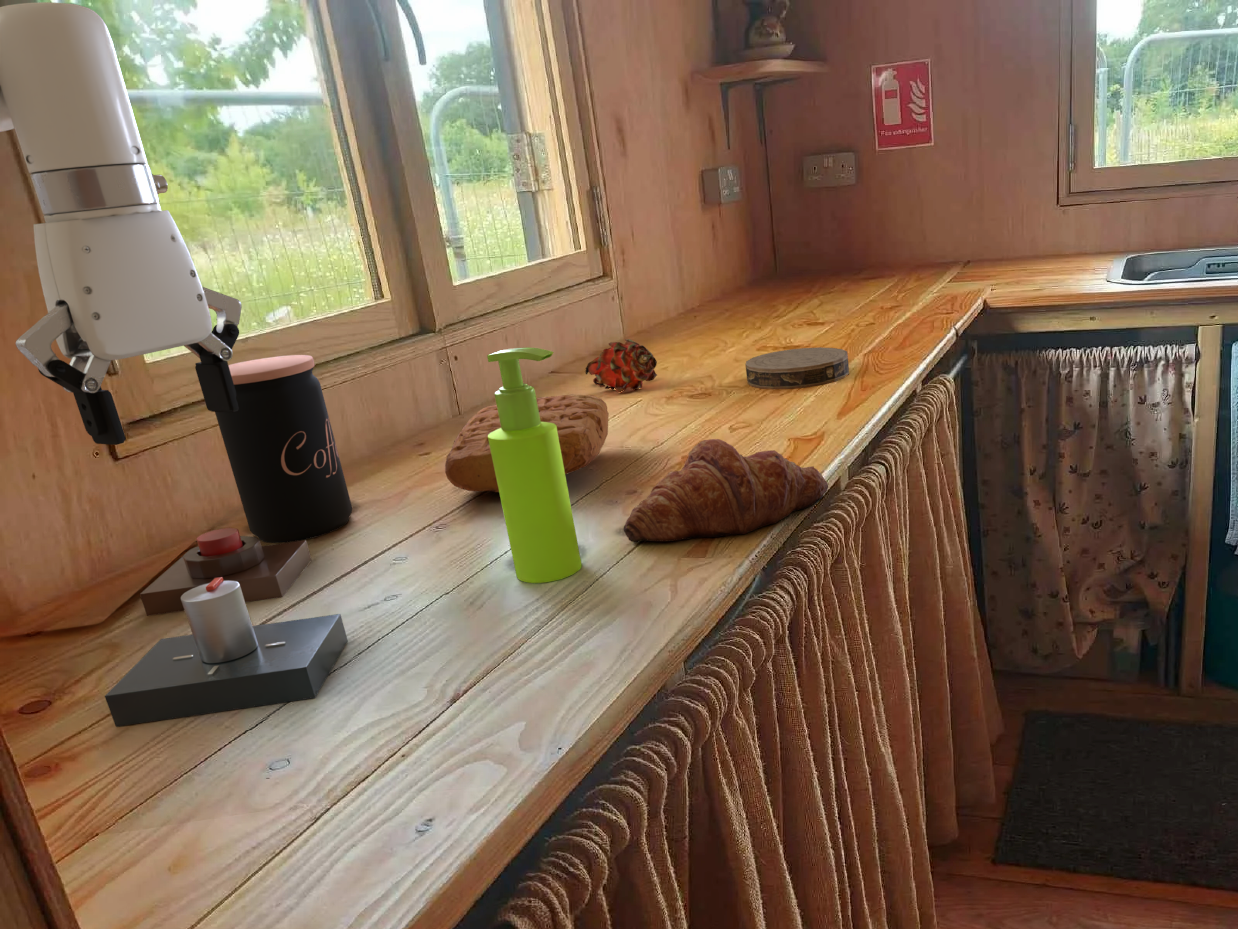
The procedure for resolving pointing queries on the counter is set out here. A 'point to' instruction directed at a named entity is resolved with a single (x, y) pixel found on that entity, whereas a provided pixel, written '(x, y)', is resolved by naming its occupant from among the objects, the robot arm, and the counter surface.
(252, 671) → the panel
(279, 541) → the coffee jar
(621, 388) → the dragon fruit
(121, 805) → the counter surface
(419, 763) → the counter surface
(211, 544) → the button
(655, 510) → the pastry
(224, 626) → the tap knob
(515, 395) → the soap dispenser
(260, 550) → the block
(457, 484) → the bread loaf
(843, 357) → the tin can
